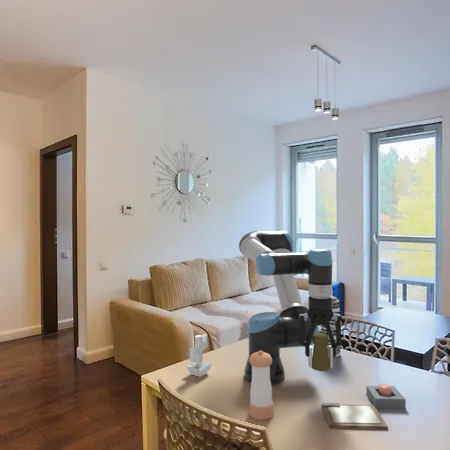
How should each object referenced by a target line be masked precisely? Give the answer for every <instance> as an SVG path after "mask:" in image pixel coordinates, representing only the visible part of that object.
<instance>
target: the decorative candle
mask: <svg viewBox="0 0 450 450" xmlns="http://www.w3.org/2000/svg"><path fill="white" fill-rule="evenodd" d="M330 297H331V298H332V311H333V313H334V314H340V315H341V312H342V311H340V307H339V306H340V299H338V298H337V297H336V296H333V295H332V296H330ZM329 324H330V328H331V331H332V334H333V337H334V340H335V341H336V329H335V320H334V317H332V319H331V320H330V321H329ZM319 326H320V328H321V332H320V333H322V334H325V335H327V336H328V333H327V330H326V327H325V325H319ZM328 339H329V336H328ZM329 345H331V342H330V339H329V341H328V344H327V350H328V357H329ZM341 346H342V345H341ZM341 346H337V348H336V356H335V357H336V358H337V357H340V356H341V350H342V349H341ZM335 357H334V358H335Z"/></svg>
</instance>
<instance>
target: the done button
mask: <svg viewBox="0 0 450 450" xmlns="http://www.w3.org/2000/svg"><path fill="white" fill-rule="evenodd" d="M378 386H379V395H381V396H392V388H391V386H392V385H388V384H385V383H384V384H381V383H380V384H379V385H378Z"/></svg>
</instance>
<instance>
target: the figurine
mask: <svg viewBox="0 0 450 450" xmlns="http://www.w3.org/2000/svg"><path fill="white" fill-rule="evenodd" d="M207 348H208V335H207V334H204V333H203V334H202V335H201V334H197V335H195V336H194V346H192V347H190V349H189V362H191V363H190V364H187V365H186V366H185V367H186V369H187V370H188V372H189V374H190V375H191V374H192V375H196V376H199V377H198V378H200V377H201V376H202V377H204V376H205V375H204V374H206V373H207V374H208V372H209V371H210V368H211V367H212V365H213V363H212V362H207V361H203V358H204V355H203V353H204V350H206V349H207ZM207 374H206V375H207ZM192 375H191V376H192ZM203 375H204V376H203ZM196 376H195V377H196ZM202 377H201V378H202Z"/></svg>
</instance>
